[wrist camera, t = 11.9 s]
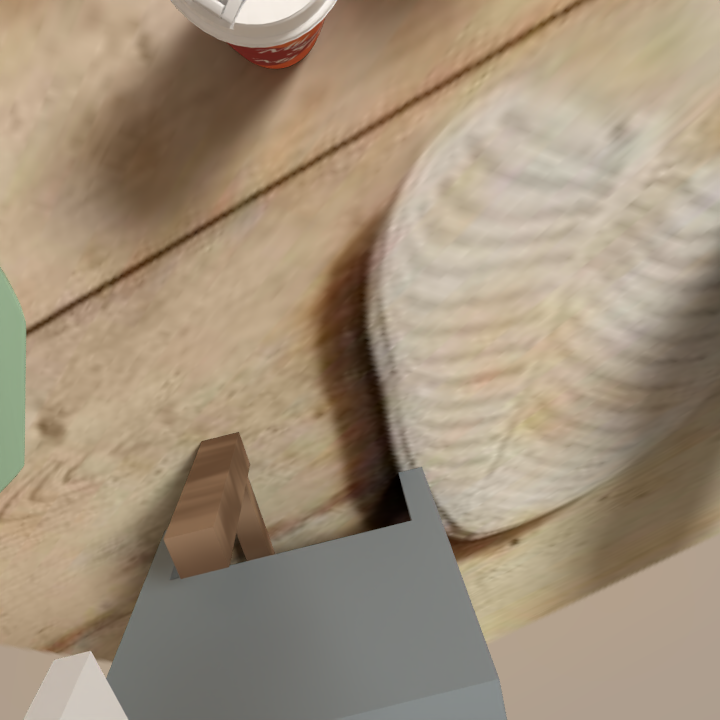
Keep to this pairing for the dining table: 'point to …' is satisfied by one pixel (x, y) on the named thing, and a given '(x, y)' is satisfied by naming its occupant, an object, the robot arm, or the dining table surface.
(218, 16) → the coffee cup
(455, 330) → the dining table surface
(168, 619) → the cabinet
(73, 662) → the robot arm
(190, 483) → the pusher tool
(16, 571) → the dining table surface
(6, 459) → the miniature garden model
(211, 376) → the dining table surface
